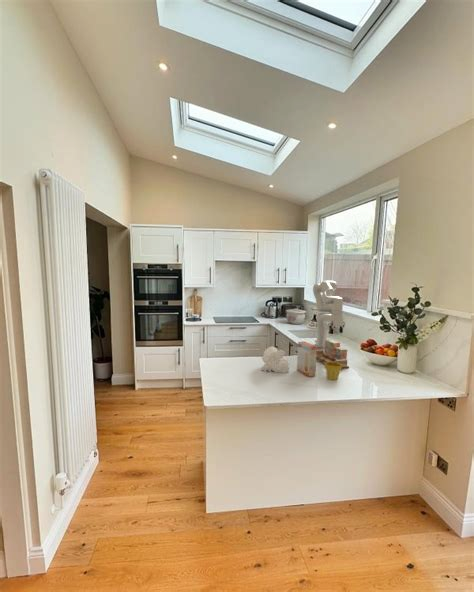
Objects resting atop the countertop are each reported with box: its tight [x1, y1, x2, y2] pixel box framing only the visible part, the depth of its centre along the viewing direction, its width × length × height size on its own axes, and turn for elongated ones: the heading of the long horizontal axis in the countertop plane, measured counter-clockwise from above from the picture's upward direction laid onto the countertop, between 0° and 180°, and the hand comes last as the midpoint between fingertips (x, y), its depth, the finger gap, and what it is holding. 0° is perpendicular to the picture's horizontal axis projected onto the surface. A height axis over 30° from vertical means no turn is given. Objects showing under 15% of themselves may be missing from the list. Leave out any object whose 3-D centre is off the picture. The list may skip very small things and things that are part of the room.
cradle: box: [316, 349, 350, 370], centre depth 227 cm, size 30×12×6 cm, turn 23°
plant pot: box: [324, 362, 342, 381], centre depth 194 cm, size 10×10×10 cm
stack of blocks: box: [323, 339, 348, 360], centre depth 242 cm, size 21×6×12 cm, turn 19°
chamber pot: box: [285, 307, 307, 325], centre depth 390 cm, size 28×27×21 cm
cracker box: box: [296, 340, 318, 378], centre depth 202 cm, size 14×6×21 cm, turn 23°
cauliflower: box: [260, 346, 290, 374], centre depth 207 cm, size 19×20×20 cm
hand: (336, 333), depth 241 cm, fingers open, 9 cm apart
